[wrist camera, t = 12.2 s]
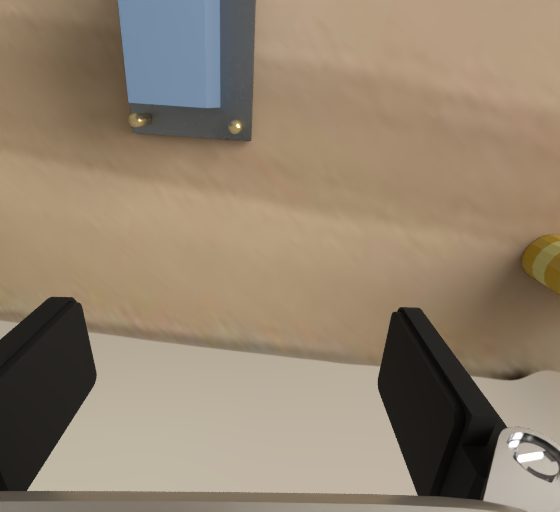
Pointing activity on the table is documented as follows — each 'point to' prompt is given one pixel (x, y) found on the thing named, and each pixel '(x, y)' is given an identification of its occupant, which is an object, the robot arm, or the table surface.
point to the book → (544, 261)
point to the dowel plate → (233, 87)
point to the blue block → (171, 51)
